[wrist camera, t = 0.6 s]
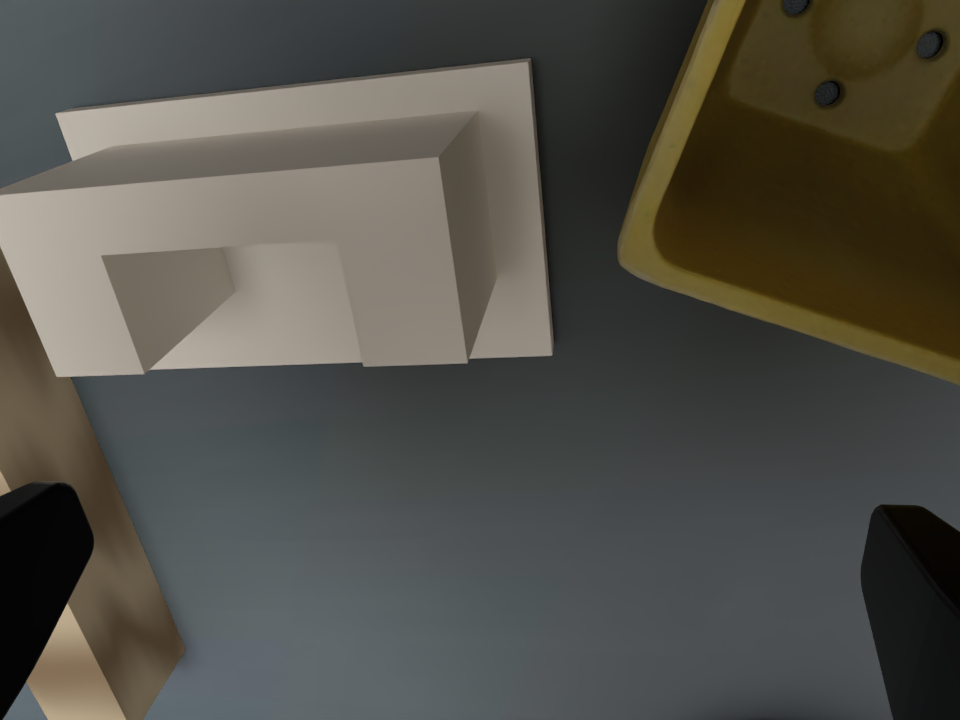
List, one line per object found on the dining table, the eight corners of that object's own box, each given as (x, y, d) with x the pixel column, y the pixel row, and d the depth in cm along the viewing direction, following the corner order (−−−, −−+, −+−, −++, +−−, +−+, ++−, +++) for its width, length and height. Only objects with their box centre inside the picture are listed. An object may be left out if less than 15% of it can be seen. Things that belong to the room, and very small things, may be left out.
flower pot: (605, 145, 19) (604, 273, 12) (758, -272, 15) (921, -517, 7) (926, 250, 19) (1140, 448, 12) (1169, -136, 15) (1770, -234, 7)
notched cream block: (553, 343, 22) (537, 456, 17) (162, 357, 25) (47, 461, 20) (531, 58, 19) (502, 95, 14) (73, 108, 21) (-95, 156, 16)
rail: (185, 649, 32) (121, 753, 28) (112, 646, 33) (40, 747, 28) (-10, 187, 23) (-149, 239, 19) (-106, 196, 23) (-261, 248, 19)
